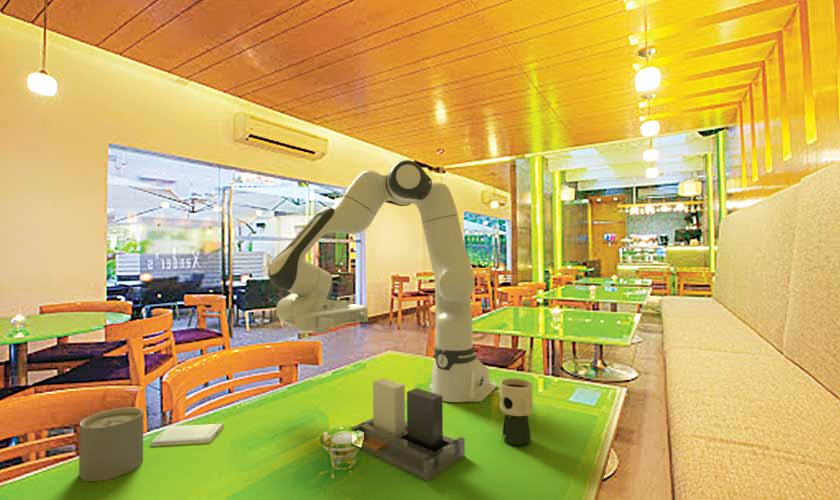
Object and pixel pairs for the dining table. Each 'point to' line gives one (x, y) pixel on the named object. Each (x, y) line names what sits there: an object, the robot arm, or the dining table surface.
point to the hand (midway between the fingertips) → (351, 320)
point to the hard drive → (187, 434)
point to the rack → (416, 438)
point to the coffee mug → (110, 443)
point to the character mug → (516, 409)
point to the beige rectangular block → (389, 406)
